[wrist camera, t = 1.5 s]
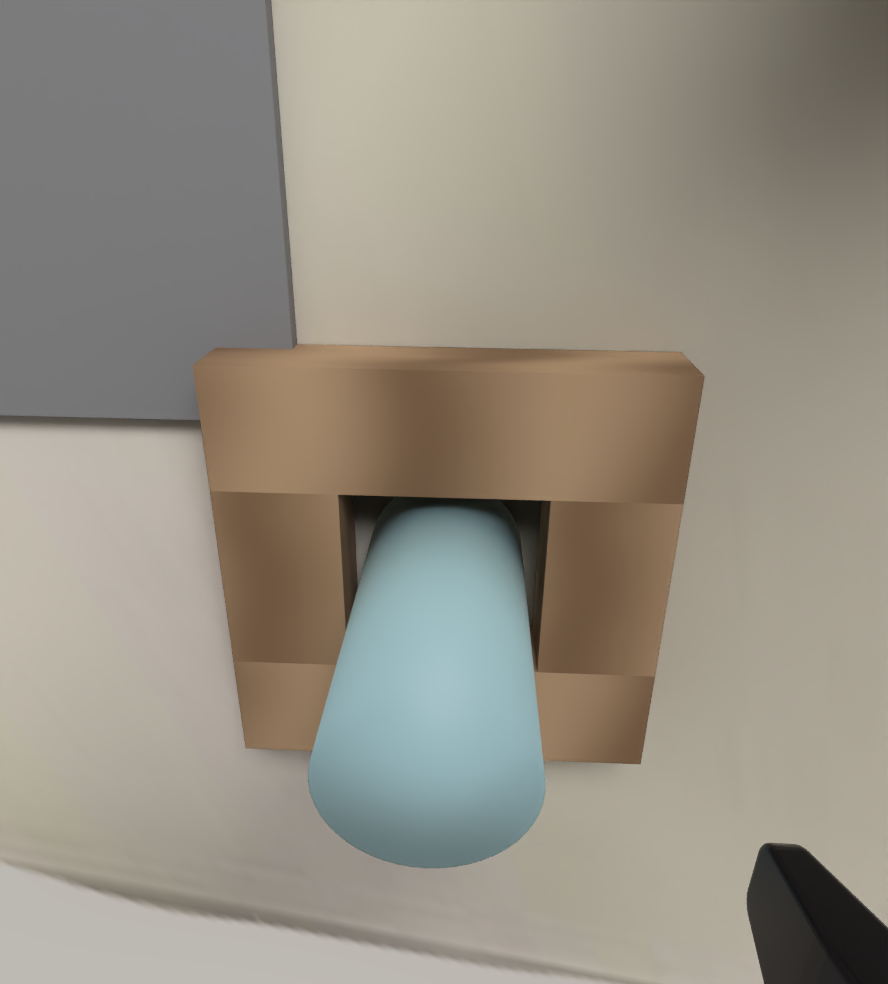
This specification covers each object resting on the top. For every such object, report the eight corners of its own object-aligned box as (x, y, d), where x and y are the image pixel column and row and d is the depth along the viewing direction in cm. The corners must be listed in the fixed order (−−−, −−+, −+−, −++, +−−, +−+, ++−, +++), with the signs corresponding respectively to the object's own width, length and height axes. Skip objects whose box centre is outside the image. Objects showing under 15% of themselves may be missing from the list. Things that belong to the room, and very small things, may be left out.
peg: (525, 482, 21) (553, 697, 13) (516, 611, 23) (537, 872, 14) (369, 477, 21) (299, 688, 13) (374, 607, 23) (316, 863, 15)
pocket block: (680, 352, 19) (704, 376, 17) (627, 713, 24) (640, 764, 22) (222, 342, 19) (192, 365, 17) (264, 699, 24) (245, 748, 22)
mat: (260, -139, 15) (253, -147, 15) (302, 416, 20) (298, 422, 20) (-303, -137, 16) (-326, -145, 15) (-122, 406, 21) (-136, 412, 20)
